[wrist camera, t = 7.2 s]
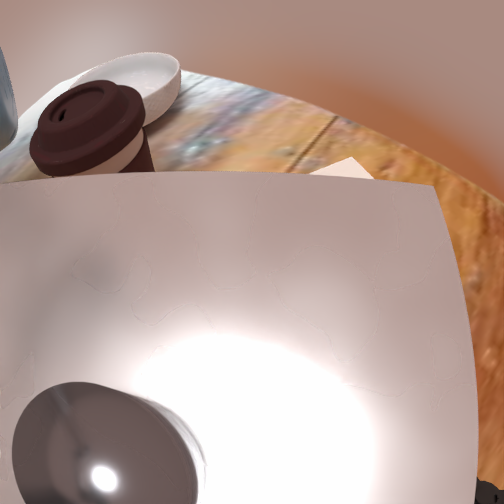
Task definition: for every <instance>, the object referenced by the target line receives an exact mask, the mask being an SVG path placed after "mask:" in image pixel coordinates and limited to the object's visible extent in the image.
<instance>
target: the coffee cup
mask: <svg viewBox="0 0 504 504" xmlns="http://www.w3.org/2000/svg"><path fill="white" fill-rule="evenodd" d="M145 116H146V112H145V107H144V103H143V100H142V97H141V94H140V93H139V92H138V91H137V90H136V89H134V88H132V87H129V86H126V85H117V84H115V83H114V82H112V81H109V80H94V81H89V82H86V83H83V84H80V85H78V86H76V87H73V88H71V89H69V90H68V91H66V92H64V93H63V94H61V95H60V96H58V97H57V98H56V99H54V100H53V101H52V102H51V103H50V104H49V105H48V106H47V107H46V108H45V109H44V111H43V112H42V114H41V116H40V118H39V120H38V127H37V129H36V130H35V132H34V134H33V136H32V138H31V141H30V148H29V151H30V155H31V157H32V159H33V161H34V162H35V164H36V165H37V167H38V169H39V170H40V171H41V172H43V173H44V174H46V175H49V176H52V177H53V178H58V177H70V176H83V175H98V174H115V173H137V172H155V171H154V167H153V163H152V158H151V154H150V150H149V145H148V141H147V136H146V133H145V130H144V129H143V127H142V126H143V124H144V121H145Z"/></svg>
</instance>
